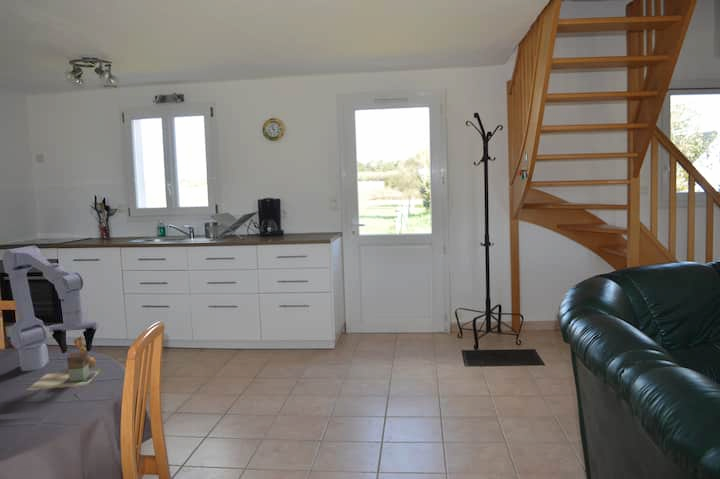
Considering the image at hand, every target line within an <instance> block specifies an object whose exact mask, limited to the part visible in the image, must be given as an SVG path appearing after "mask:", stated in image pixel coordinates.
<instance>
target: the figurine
mask: <svg viewBox="0 0 720 479" xmlns="http://www.w3.org/2000/svg"><path fill="white" fill-rule="evenodd" d="M83 339H84V338H83V336H82V335H80V336H79V337H78V338H75V339H74V340H73V343H74V345H75V346H76V347H77V348H78V349H79V350H80V352H87V350H86V343H84V342H83ZM87 353H88V352H87ZM96 361H97V360H96V359H95V358H94V357H91V356H90V355H88V365H89V368H91V367H94V366H95V365H96V363H97V362H96Z"/></svg>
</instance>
